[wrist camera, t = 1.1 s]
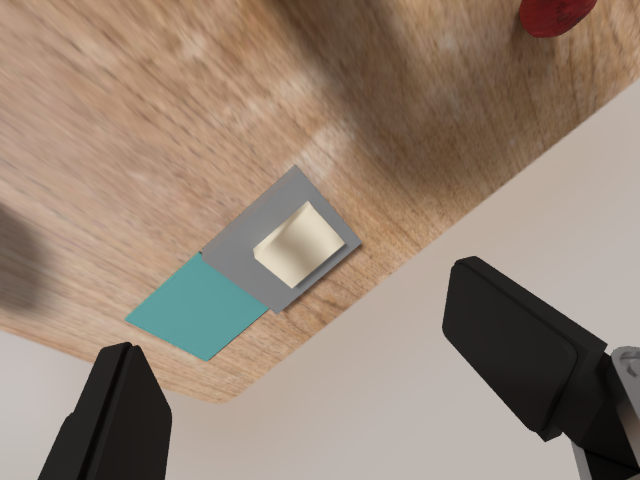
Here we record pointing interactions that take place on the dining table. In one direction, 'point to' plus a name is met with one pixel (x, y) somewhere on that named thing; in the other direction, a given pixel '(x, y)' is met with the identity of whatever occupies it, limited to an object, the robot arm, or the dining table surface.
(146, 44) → the dining table surface
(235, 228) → the grey flat slab
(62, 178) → the dining table surface
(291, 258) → the birch tile
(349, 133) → the dining table surface
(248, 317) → the teal mat
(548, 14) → the onion
